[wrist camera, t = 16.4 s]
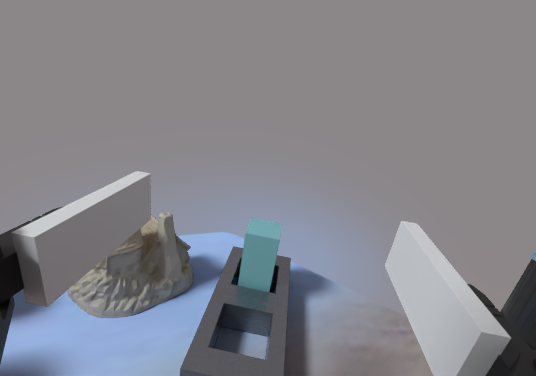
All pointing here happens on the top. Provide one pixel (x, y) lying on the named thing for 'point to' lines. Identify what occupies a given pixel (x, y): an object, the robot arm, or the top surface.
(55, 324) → the top surface
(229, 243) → the top surface
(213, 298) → the grey block with holes
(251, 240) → the teal peg
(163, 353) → the top surface
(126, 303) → the ceramic cottage
